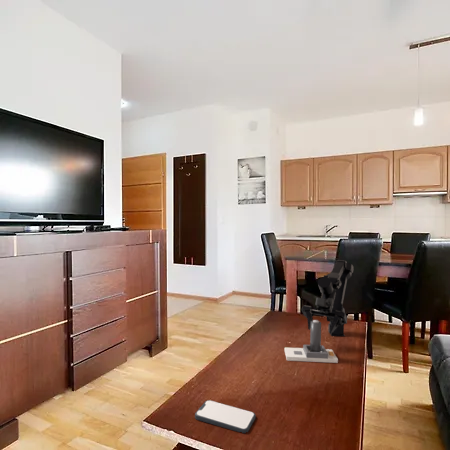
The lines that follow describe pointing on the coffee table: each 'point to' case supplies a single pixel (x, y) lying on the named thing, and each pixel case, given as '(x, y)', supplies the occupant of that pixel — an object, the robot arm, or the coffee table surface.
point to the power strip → (310, 355)
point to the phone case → (225, 416)
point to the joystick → (315, 336)
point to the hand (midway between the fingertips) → (319, 331)
